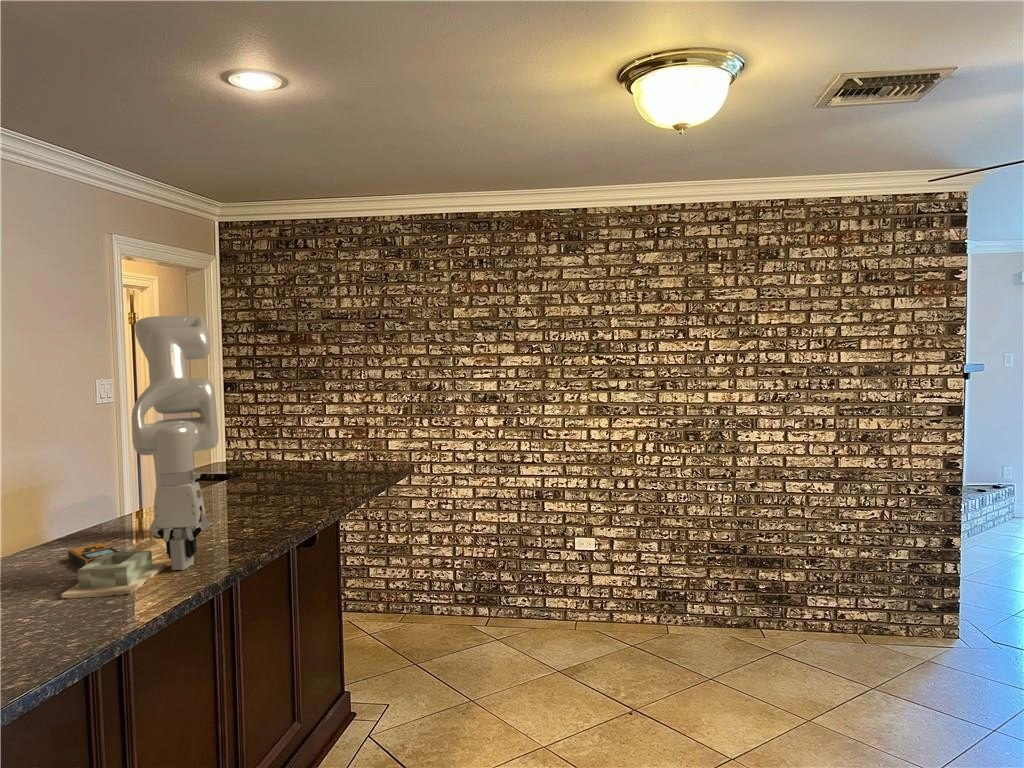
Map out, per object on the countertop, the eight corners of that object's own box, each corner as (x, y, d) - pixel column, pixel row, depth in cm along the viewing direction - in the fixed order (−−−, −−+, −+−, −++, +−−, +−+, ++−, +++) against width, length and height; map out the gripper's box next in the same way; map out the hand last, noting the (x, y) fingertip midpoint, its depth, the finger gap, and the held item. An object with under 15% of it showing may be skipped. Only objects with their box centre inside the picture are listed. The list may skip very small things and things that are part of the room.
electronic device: (103, 554, 181) (103, 541, 181) (126, 565, 170) (125, 551, 170) (66, 562, 175) (65, 548, 175) (87, 574, 164) (86, 559, 164)
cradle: (105, 570, 165) (104, 549, 165) (167, 566, 166) (165, 545, 166) (61, 598, 147) (59, 575, 147) (131, 594, 148) (129, 571, 148)
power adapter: (195, 563, 168) (191, 513, 167) (183, 570, 162) (179, 519, 162) (182, 563, 168) (178, 513, 167) (170, 571, 163) (166, 519, 162)
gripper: (218, 473, 168) (223, 549, 169) (147, 477, 167) (152, 553, 168) (207, 480, 161) (212, 559, 162) (132, 484, 160) (138, 563, 161)
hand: (182, 555), depth 165 cm, fingers closed on power adapter, 3 cm apart
